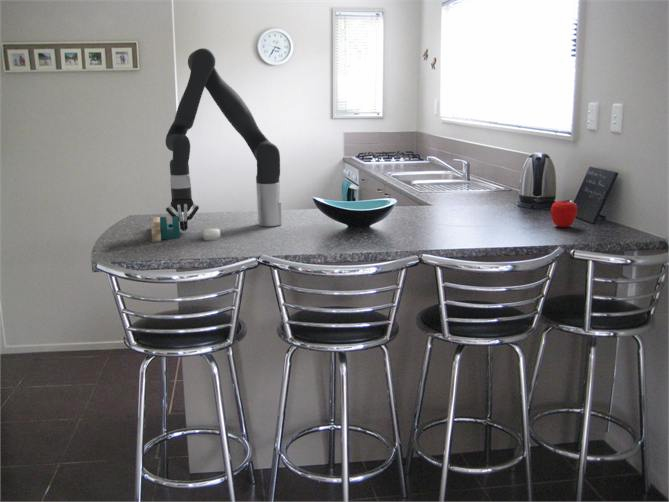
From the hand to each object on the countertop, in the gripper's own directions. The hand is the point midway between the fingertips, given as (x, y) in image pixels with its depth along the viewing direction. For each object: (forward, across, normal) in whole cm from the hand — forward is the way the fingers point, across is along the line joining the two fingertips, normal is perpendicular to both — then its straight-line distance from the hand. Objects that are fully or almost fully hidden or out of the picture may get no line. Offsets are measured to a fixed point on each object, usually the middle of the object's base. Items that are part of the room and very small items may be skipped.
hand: (184, 230), depth 258 cm
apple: (+2, -144, +31) cm, 147 cm away
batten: (+1, +10, 0) cm, 10 cm away
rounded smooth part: (+1, -10, +12) cm, 16 cm away
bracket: (+1, +5, -1) cm, 5 cm away
